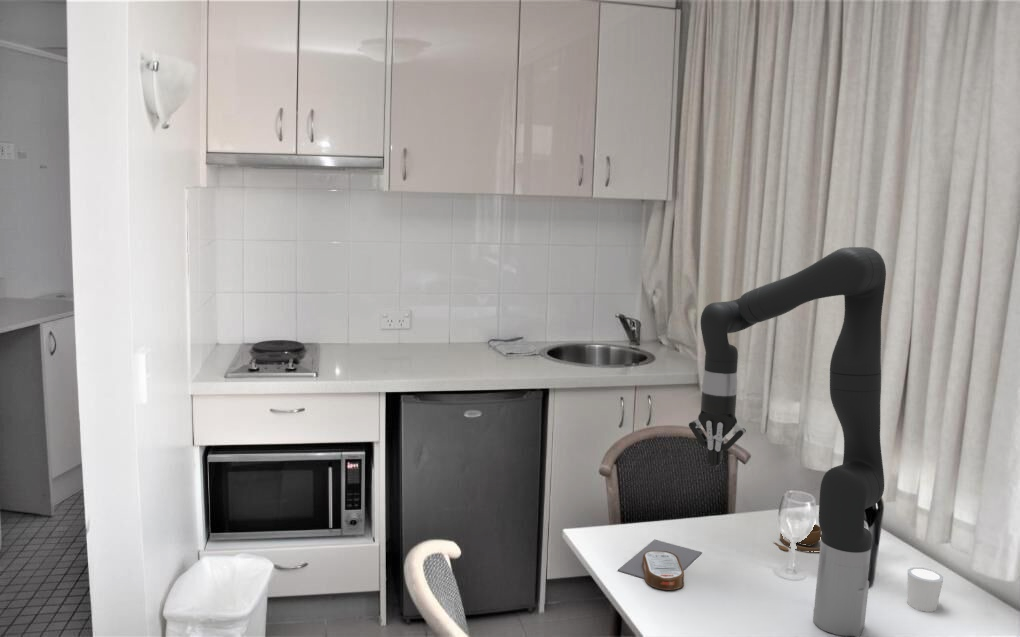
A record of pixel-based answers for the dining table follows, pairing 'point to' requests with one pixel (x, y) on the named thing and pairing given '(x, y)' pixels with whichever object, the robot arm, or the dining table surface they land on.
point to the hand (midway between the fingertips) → (714, 465)
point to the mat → (683, 553)
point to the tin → (663, 570)
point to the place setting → (805, 540)
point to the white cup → (923, 588)
